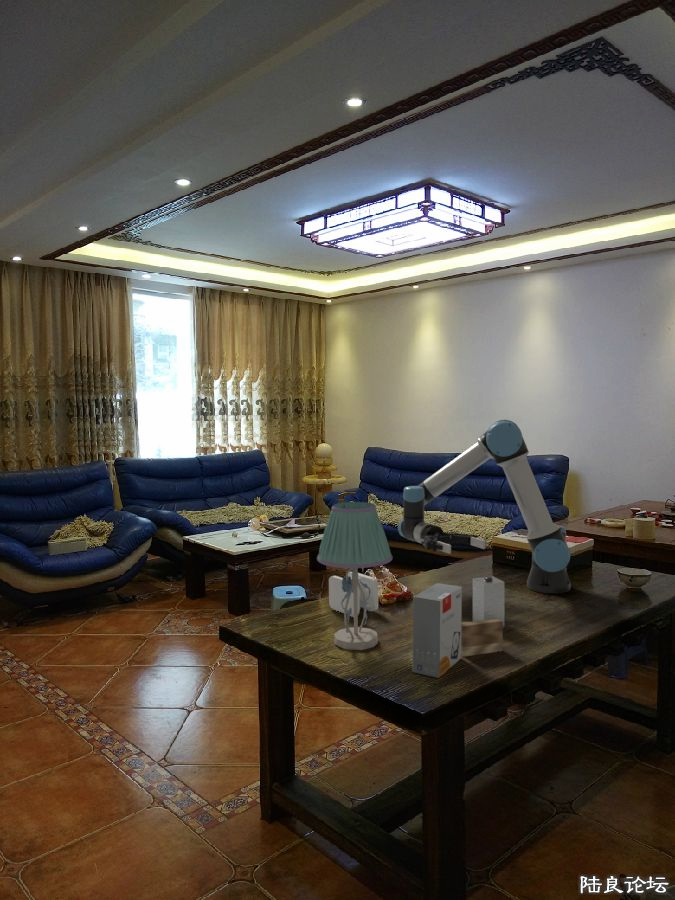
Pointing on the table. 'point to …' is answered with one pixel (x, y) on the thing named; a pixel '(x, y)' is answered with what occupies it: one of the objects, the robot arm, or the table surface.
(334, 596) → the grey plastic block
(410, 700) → the table surface
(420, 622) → the hard drive box
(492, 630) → the dock
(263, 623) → the table surface
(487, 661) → the table surface
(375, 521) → the table lamp
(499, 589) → the block
